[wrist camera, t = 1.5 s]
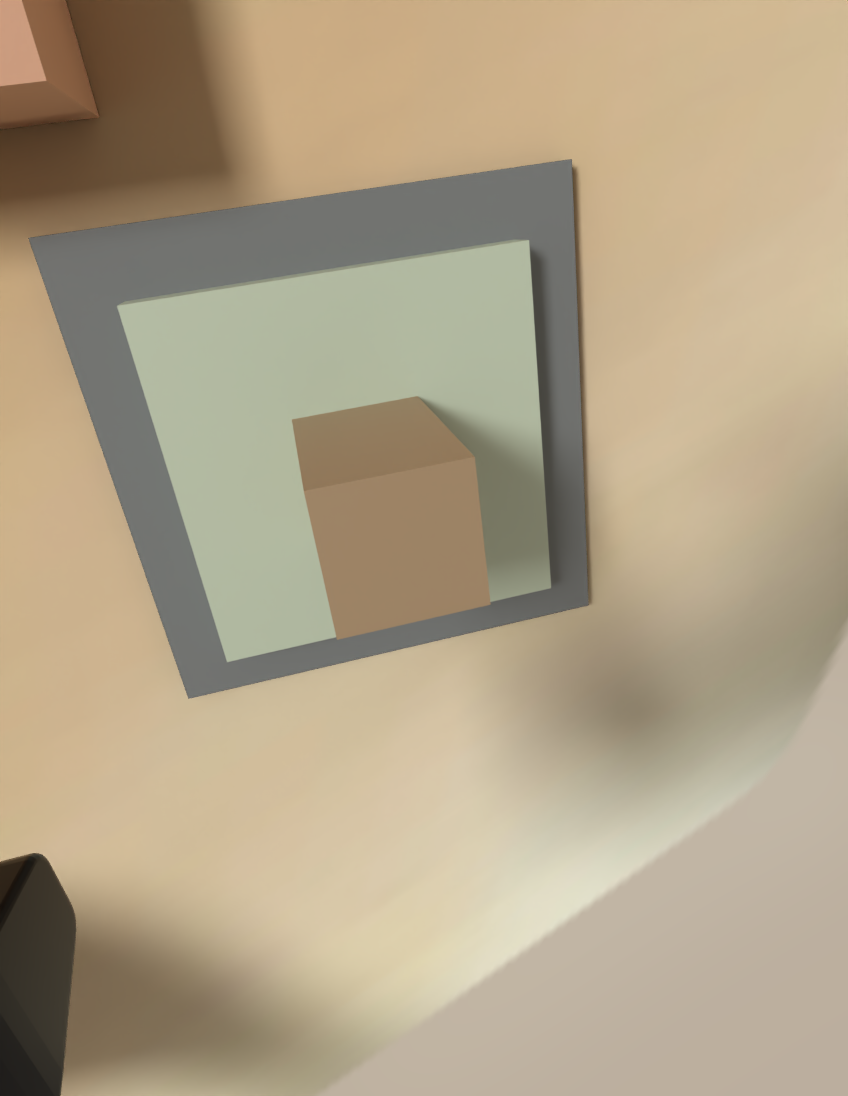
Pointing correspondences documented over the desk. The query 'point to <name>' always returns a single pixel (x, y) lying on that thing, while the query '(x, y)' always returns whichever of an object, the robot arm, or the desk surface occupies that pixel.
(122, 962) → the desk surface
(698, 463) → the desk surface
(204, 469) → the lid
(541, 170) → the mat
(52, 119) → the dish
